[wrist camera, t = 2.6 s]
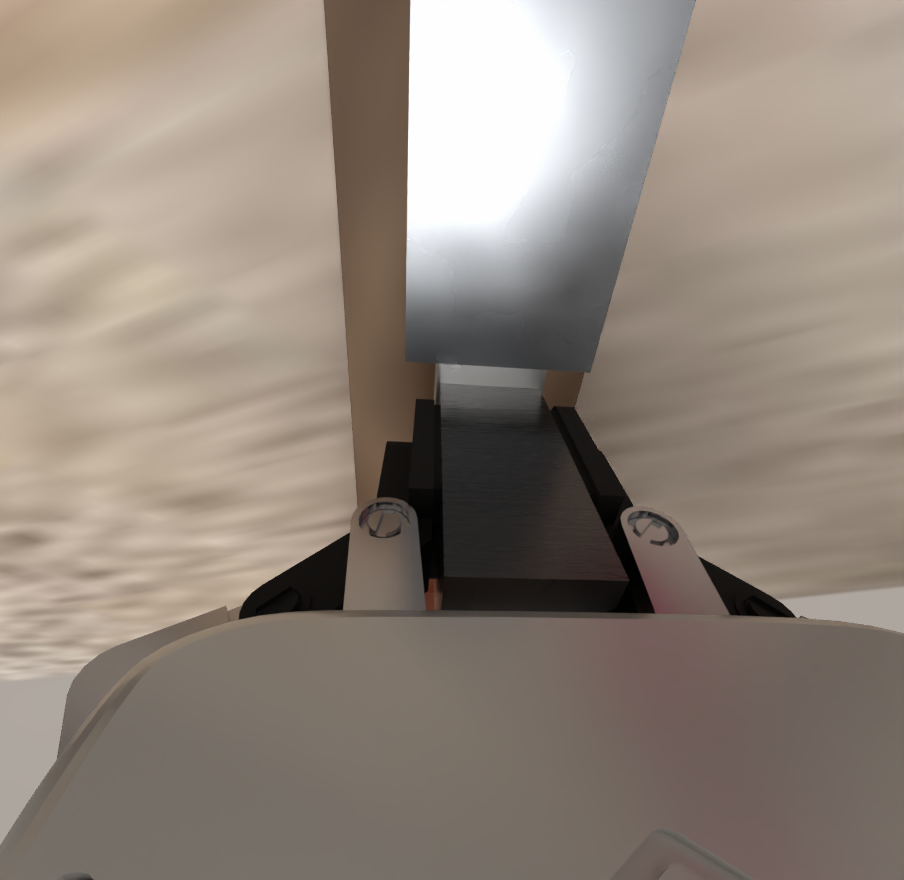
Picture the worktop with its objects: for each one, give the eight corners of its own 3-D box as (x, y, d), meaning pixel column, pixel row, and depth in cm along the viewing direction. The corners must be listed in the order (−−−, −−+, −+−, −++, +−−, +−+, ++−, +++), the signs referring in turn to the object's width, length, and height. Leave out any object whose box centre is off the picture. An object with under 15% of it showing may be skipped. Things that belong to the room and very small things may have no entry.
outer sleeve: (626, -200, 10) (904, -736, 4) (534, 298, 17) (590, 372, 11) (430, -232, 10) (422, -867, 4) (416, 290, 17) (404, 361, 11)
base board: (705, -146, 12) (737, -182, 11) (526, 548, 28) (530, 566, 27) (321, -205, 11) (307, -252, 10) (364, 543, 27) (361, 561, 26)
